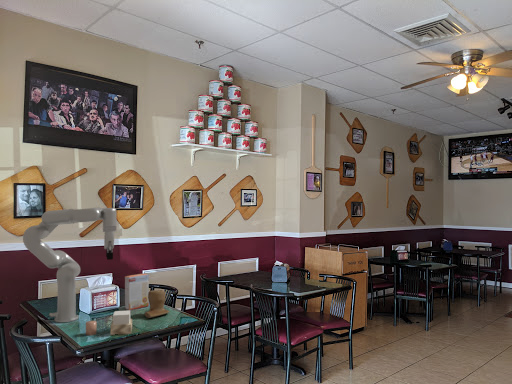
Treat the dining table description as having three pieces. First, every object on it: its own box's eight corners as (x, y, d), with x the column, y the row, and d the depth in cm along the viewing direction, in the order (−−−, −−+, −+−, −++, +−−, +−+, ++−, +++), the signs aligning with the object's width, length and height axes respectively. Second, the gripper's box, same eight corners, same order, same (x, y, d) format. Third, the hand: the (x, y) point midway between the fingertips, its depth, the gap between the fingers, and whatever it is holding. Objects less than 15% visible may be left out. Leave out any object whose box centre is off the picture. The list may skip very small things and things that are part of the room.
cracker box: (144, 304, 269) (144, 272, 269) (148, 306, 265) (149, 274, 265) (124, 308, 259) (124, 275, 259) (129, 310, 255) (129, 277, 255)
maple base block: (110, 335, 210) (110, 325, 210) (112, 329, 220) (112, 320, 220) (130, 334, 212) (130, 324, 212) (132, 328, 222) (132, 318, 222)
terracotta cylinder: (84, 335, 208) (84, 324, 208) (86, 332, 213) (86, 321, 214) (95, 335, 210) (95, 323, 210) (97, 331, 215) (97, 320, 215)
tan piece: (159, 310, 255) (159, 286, 255) (171, 314, 247) (172, 289, 247) (138, 316, 243) (139, 291, 243) (151, 320, 235) (151, 294, 236)
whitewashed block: (112, 325, 211) (113, 315, 211) (114, 320, 219) (114, 311, 219) (129, 324, 213) (129, 314, 213) (130, 319, 221) (130, 310, 221)
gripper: (102, 228, 246) (102, 256, 245) (103, 230, 230) (103, 260, 229) (115, 227, 249) (115, 256, 248) (117, 229, 233) (117, 260, 232)
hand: (109, 258), depth 239 cm, fingers open, 9 cm apart
